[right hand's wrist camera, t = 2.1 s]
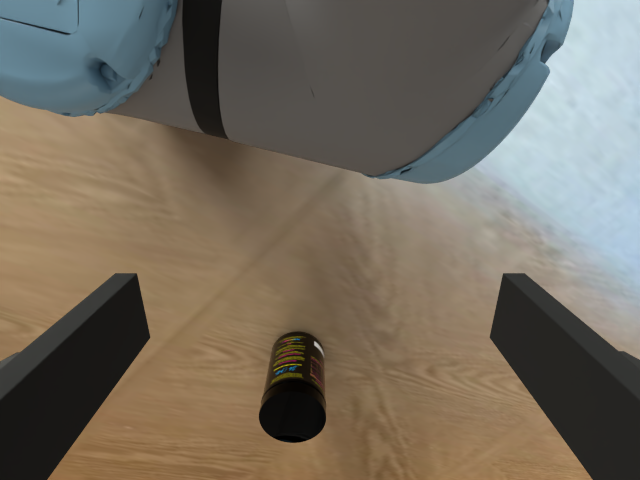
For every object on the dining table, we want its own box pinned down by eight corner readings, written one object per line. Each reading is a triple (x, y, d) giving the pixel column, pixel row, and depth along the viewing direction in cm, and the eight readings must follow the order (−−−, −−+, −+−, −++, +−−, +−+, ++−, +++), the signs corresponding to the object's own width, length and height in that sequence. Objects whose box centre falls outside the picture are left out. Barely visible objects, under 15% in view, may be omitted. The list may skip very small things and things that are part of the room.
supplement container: (260, 346, 45) (244, 412, 35) (303, 319, 43) (299, 380, 33) (293, 380, 46) (286, 452, 37) (334, 355, 45) (339, 423, 35)
